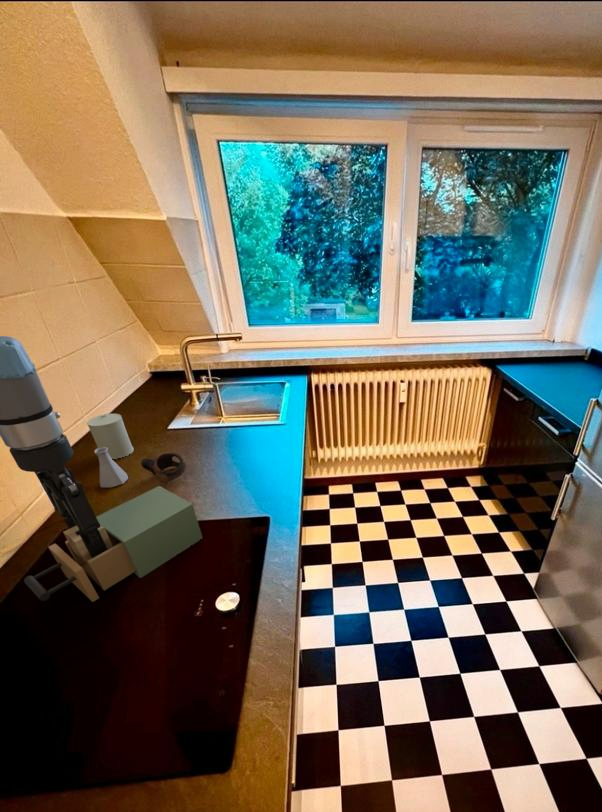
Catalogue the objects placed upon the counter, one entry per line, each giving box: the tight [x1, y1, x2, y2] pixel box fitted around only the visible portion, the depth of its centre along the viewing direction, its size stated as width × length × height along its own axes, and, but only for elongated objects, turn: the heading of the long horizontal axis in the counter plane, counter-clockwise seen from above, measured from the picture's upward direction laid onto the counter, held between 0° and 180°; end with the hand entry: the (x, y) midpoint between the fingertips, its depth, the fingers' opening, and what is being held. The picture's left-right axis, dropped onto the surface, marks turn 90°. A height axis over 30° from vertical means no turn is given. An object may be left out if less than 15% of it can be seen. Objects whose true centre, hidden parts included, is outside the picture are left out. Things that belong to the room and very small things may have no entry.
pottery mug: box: [140, 451, 188, 485], centre depth 108 cm, size 12×10×8 cm
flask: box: [94, 447, 129, 488], centre depth 105 cm, size 7×7×10 cm
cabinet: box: [96, 485, 204, 579], centre depth 83 cm, size 15×13×10 cm
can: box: [86, 413, 135, 460], centre depth 119 cm, size 9×9×12 cm
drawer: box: [23, 530, 136, 603], centre depth 75 cm, size 19×11×8 cm, turn 145°
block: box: [62, 525, 113, 562], centre depth 73 cm, size 5×5×5 cm
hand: (93, 548), depth 74 cm, fingers closed on block, 5 cm apart
